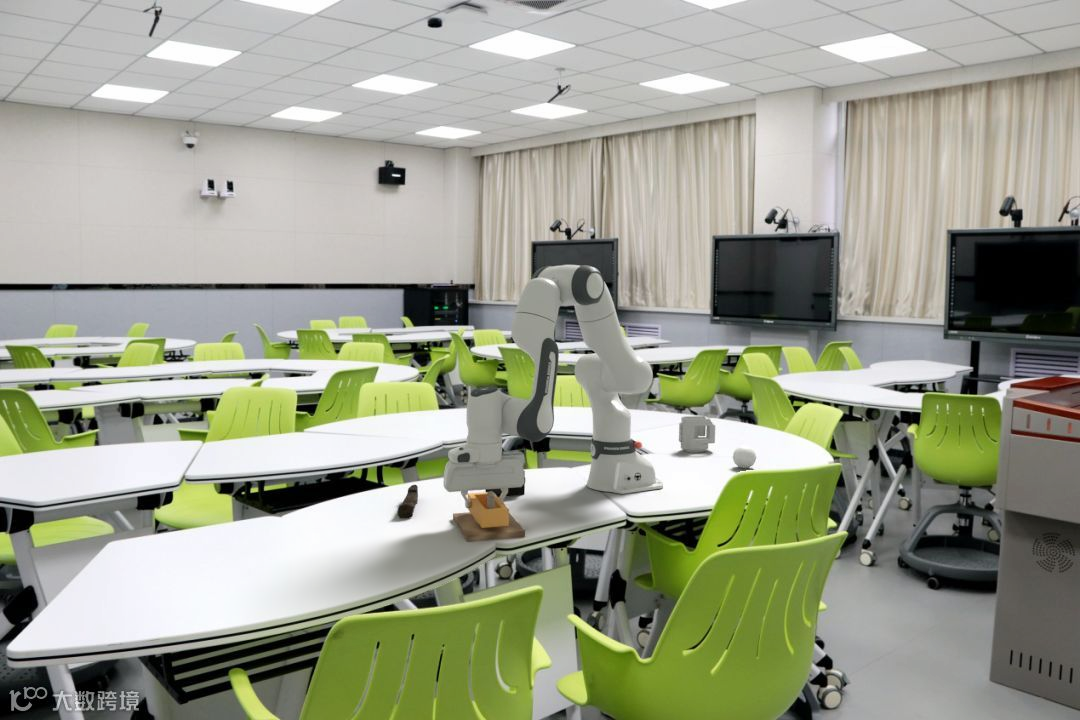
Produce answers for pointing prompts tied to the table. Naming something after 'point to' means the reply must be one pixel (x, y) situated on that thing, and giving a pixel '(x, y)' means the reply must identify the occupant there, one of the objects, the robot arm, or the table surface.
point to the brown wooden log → (409, 503)
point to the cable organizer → (696, 433)
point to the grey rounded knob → (744, 457)
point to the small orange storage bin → (488, 511)
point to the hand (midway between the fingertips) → (484, 506)
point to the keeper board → (476, 533)
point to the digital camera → (510, 490)
